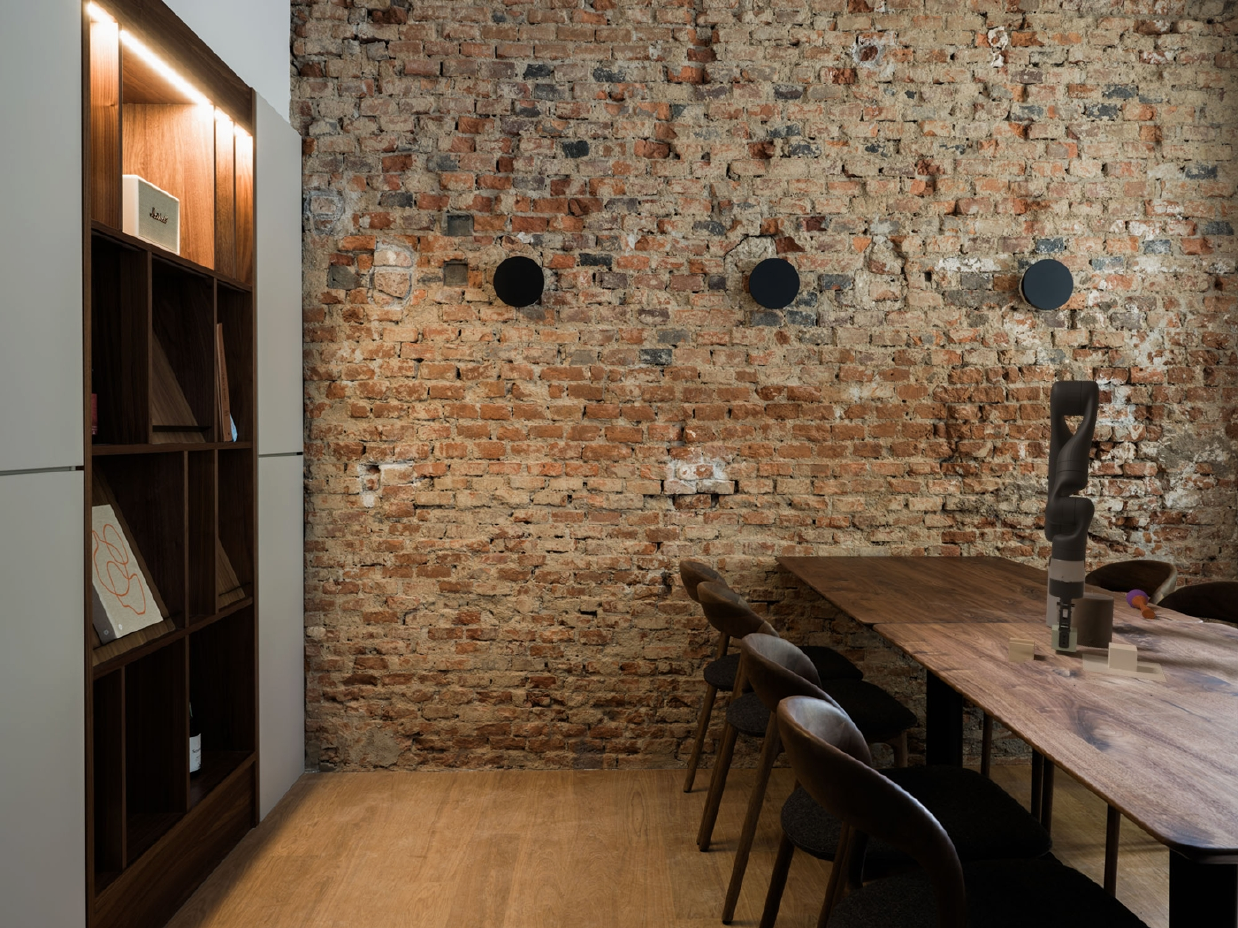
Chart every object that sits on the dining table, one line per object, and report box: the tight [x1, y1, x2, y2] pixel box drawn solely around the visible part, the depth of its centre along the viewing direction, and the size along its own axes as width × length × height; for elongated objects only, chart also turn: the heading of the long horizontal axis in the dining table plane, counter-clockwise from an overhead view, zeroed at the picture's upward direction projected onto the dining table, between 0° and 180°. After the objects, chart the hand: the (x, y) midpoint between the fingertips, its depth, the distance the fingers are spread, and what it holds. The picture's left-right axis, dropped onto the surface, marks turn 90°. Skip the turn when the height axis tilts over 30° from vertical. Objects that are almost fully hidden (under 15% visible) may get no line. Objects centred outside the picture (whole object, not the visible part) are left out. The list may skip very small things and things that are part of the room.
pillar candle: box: [1070, 590, 1115, 649], centre depth 210 cm, size 10×10×15 cm
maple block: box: [1007, 637, 1036, 664], centre depth 198 cm, size 5×5×5 cm
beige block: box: [1107, 642, 1139, 672], centre depth 189 cm, size 5×5×5 cm
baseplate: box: [1081, 653, 1168, 683], centre depth 190 cm, size 16×16×1 cm
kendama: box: [1125, 589, 1156, 620], centre depth 253 cm, size 6×6×20 cm
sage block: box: [1050, 625, 1078, 653], centre depth 201 cm, size 5×5×5 cm
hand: (1063, 644), depth 201 cm, fingers closed on sage block, 5 cm apart
